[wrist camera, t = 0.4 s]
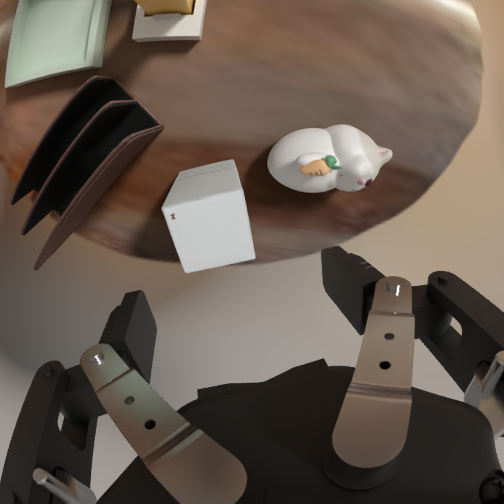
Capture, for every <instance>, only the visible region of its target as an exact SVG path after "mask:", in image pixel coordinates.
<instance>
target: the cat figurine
mask: <svg viewBox="0 0 504 504" xmlns="http://www.w3.org/2000/svg"><path fill="white" fill-rule="evenodd" d="M391 157H392V151H391V150H389V149H387V148H382V147H379V146H377V145H376V144H375V143H374V141H373V140H372V139H371V138H370V137H369V136H367V135H366V134H365V133H363V132H362V131H360V130H358V129H356V128H354V127H352V126H349V125H334V126H331V127H328V128H325V129H319V128H306V129H301V130H297V131H294V132H292V133H290V134H288V135H286V136H284V137H283V138H281V139H280V140H279V141H278V142H277V143H276V144H275V145H274V146H273V148H272V149H271V151H270V153H269V156H268V160H267V165H268V169H269V171H270V173H271V175H272V176H273V177H274V178H275V179H276V180H277V181H278V182H280V183H281V184H283V185H285V186H287V187H289V188H291V189H294V190H297V191H302V192H309V193H318V192H324V191H328V190H331V189H334V188H337V189H339V190H344V191H349V192H354V191H358V190H364V189H365V188H366V186H370V185H371V183H372V181H373V180H374V179H375V177H376V176H377V174H378V172H379V169H380V168H381V166H382V165H383V164H385V163H386V162H387V161H389V160H390V159H391Z"/></svg>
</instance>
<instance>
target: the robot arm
mask: <svg viewBox="0 0 504 504" xmlns="http://www.w3.org/2000/svg"><path fill="white" fill-rule="evenodd" d="M321 260H322V276H323V285H324V288H325V291H326V293H327V294H328V295H329V297H330V298H331V299H332V300H333V302H334V303H335V304H336V305H337V306H338V308H339V309H340V310H341V312H342V313H343V314H344V315H345V317H346V318H347V319H348V320H349V322H350V323H351V324H352V326H353V327H354V328H355V329H356V331H357V332H358V333H359V334H360V335H363V334H364V337H363V341H362V345H361V349H360V353H359V357H358V360H357V364H356V368H354V367H349V366H328V365H327V363H326V362H325V360H324V358H323V359H320V360H317V361H314V362H310V363H307V364H304V365H300V366H297V367H293V368H292V369H290V370H288V371H286V372H284V373H281V374H280V375H277V376H275V377H273V378H271V379H269V380H267V381H265V382H258V383H230V384H223V385H219V386H213V387H208V388H203V389H198V391H197V392H198V399H196V400H194V401H192V402H190V403H188V404H186V405H184V406H183V407H181V408H180V409H179V410H178V411H175V410H174V409H173V408H172V407H171V406H170V405H169V404H168V403H167V402H166V401H165V400H164V399H163V398H162V397H161V396H159V394H158V393H157V392H156V391H155V390H154V389H153V388H152V387H151V386H150V377H151V369H152V361H153V354H154V347H155V341H156V333H157V327H156V323H155V319H154V317H153V314H152V312H151V310H150V307H149V304H148V302H147V299H146V296H145V294H144V292H143V291H142V290H138V291H134V292H130V293H126V294H125V296H124V298H123V301H122V303H121V305H120V306H117V307H116V308H115V309H114V310H113V311H112V312H111V314H110V316H109V319H108V322H107V324H106V328H105V329H104V331H103V334H102V336H101V338H100V341H99V344H98V345H95V346H92V347H90V348H89V349H87V350H86V351H85V352H84V353H83V355H82V356H81V359H80V364H79V365H77V366H74V367H71V368H69V369H66V370H65V368H64V367H63V365H62V364H61V363H60V362H59V361H50V362H47V363H45V364H44V365H42V366H41V367H40V368H39V369H38V371H37V372H36V374H35V376H34V379H33V381H32V384H31V386H30V388H29V391H28V393H27V396H26V398H25V401H24V403H23V406H22V409H21V412H20V414H19V417H18V420H17V423H16V426H15V429H14V432H13V435H12V439H11V442H10V445H9V449H8V452H7V456H6V460H5V464H4V468H3V473H2V477H1V481H0V504H504V472H503V470H502V468H501V466H500V463H499V461H498V457H497V453H496V449H495V442H494V441H495V440H496V439H498V438H499V437H504V312H502V311H501V310H500V309H499V308H498V307H496V306H495V305H494V304H493V303H491V302H490V301H489V300H488V299H486V298H485V297H484V296H483V295H481V294H480V293H479V292H477V291H476V290H475V289H474V288H472V287H471V286H469V285H468V284H467V283H466V282H464V281H463V280H461V279H460V278H459V277H457V276H456V275H454V274H453V273H450V272H446V271H436V272H433V273H431V274H430V275H429V277H428V284H427V285H421V286H411V284H410V282H409V281H407V280H406V279H404V278H401V277H396V276H390V277H385V276H384V275H383V274H382V273H380V272H379V271H378V270H377V269H376V268H374V267H372V265H371V264H369V263H368V262H366V260H364V259H363V258H362V257H360V256H358V255H354V254H352V253H349V254H348V253H347V252H346V251H345V250H343V249H342V248H341V247H340V246H334V247H330V248H325V249H322V251H321ZM452 316H453V317H454V318H455V319H456V320H457V321H458V322H459V323H460V325H461V327H462V336H461V335H460V334H459V333H458V332H457V331H456V330H455V329H454V328H453V327H452V326H451V325H450V323H451V320H452ZM414 339H420V340H421V341H422V342H423V343H424V345H425V346H426V347H427V348H428V349H429V351H430V352H431V353H432V354H433V355H434V356H435V358H436V359H437V360H438V361H439V362H440V363H441V365H442V366H443V367H444V369H445V370H446V371H447V372H448V373H449V375H450V376H451V377H452V378H453V380H454V381H455V382H456V383H457V385H458V386H459V387H460V389H461V390H462V391H463V392H464V401H465V402H461V401H458V400H454V399H450V398H447V397H444V396H440V395H437V394H434V393H430V392H427V391H424V390H421V389H417V388H414V387H411V382H412V372H413V358H414ZM60 412H61V413H62V414H63V416H64V420H63V424H62V429H61V432H60V430H59V428H58V423H57V422H58V416H59V413H60ZM107 413H108V414H109V416H110V417H111V419H112V420H113V422H114V423H115V424H116V426H117V427H118V429H119V430H120V432H121V433H122V434H123V436H124V437H125V438H126V440H127V441H128V443H130V445H131V446H132V448H133V449H134V450H135V451H136V453H137V454H138V456H137V457H136V458H135V459H134V460H133V461H132V463H131V464H130V465H129V466H128V467H127V468H126V470H125V471H124V472H123V473H122V474H121V475H120V476H119V477H118V479H117V480H116V481H115V482H114V483H113V484H112V485H111V486H110V488H108V490H107V491H106V492H105V493H104V494H103V495H102V496H101V497H100V499H99V500H98V501H97V499H96V496H95V494H94V493H93V491H92V490H91V489H90V481H91V468H92V458H93V449H94V440H95V433H96V426H97V419H98V416H101V415H104V414H107Z"/></svg>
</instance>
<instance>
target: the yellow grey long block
mask: <svg viewBox="0 0 504 504" xmlns="http://www.w3.org/2000/svg"><path fill="white" fill-rule="evenodd" d="M134 1H135V2H136V3H137V4H138V5H139V6H140V7H141V8H142V9H143V10H144V11H145V12H146V13H147V14H148V15H149V16H153V15H156V14H175V13H180V14H181V15H193V11H194V5H195V0H134Z"/></svg>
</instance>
